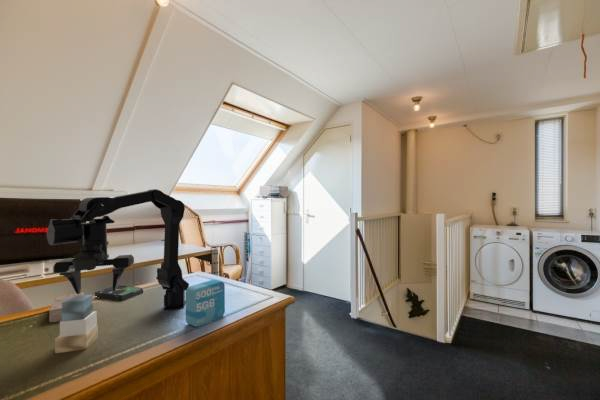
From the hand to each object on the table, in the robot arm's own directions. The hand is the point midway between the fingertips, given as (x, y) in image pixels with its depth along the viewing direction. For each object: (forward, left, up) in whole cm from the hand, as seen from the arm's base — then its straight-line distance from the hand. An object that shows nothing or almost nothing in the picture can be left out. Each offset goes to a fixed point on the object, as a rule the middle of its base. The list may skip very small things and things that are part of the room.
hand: (96, 292), depth 82 cm
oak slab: (+3, +5, -13) cm, 14 cm away
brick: (+18, -22, -13) cm, 32 cm away
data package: (-31, -1, -13) cm, 33 cm away
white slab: (+2, +5, -9) cm, 10 cm away
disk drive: (+7, -38, -13) cm, 40 cm away
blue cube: (+2, +5, -5) cm, 8 cm away
